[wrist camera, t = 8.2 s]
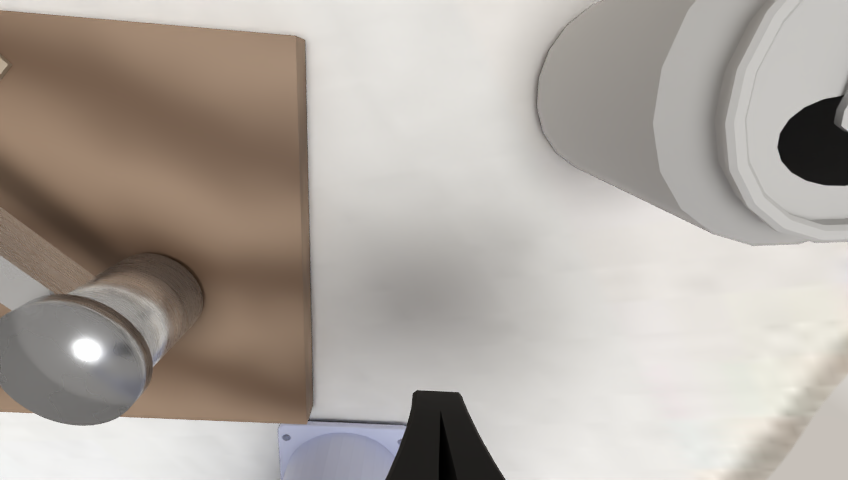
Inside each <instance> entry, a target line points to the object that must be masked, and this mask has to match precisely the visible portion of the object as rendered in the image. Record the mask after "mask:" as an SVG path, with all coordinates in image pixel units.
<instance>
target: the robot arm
mask: <svg viewBox="0 0 848 480" xmlns="http://www.w3.org/2000/svg"><path fill="white" fill-rule="evenodd" d="M285 434H287V435H289V436H287V435H285ZM400 439H402V440H400ZM278 442H279V458H280V475H281V480H505V478H504V477H503V475H502V473H501V472H500V470H499V469H498V467H497V465H496V464H495V462H494V460H493V459H492V457H491V455H490V453H489V452H488V450H487V448H486V446H485V444H484V443H483V441H482V439H481V437H480V435H479V433H478V431H477V429H476V427H475V425H474V423H473V421H472V419H471V417H470V415H469V413H468V410H467V408H466V406H465V403H464V401H463V398H462V396H461V395H460V394H459V392H440V391H420V390H417V391H415V392H414V393H413V398H412V407H411V412H410V416H409V419H408V423H407V426H404V425H385V424H361V423H337V422H313V421H308V423H307V424H284V423H280V425H279V427H278Z"/></svg>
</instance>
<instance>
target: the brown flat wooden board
mask: <svg viewBox="0 0 848 480" xmlns="http://www.w3.org/2000/svg"><path fill="white" fill-rule="evenodd" d="M0 207H1V208H3V209H4V210H5V211H7V212H8V213H9V214H11V215H12V216H13V217H15V218H16V219H17V220H19V221H20V222H22V223H23V224H24V225H26V226H27V227H28V228H30V229H31V230H32V231H34V232H35V233H37V234H38V235H39V236H41V237H42V238H43V239H45V240H46V241H47V242H49V243H50V244H51V245H53V246H54V247H56V248H57V249H58V250H60V251H61V252H62V253H64V254H65V255H66V256H68V257H69V258H71V259H72V260H73V261H75V262H76V263H77V264H79V265H80V266H81V267H83V268H84V269H85V270H87V271H88V272H90V273H91V274H92V275H94V276H96V275H98V274H100V273H101V272H103V271H105V270H107V269H108V268H110V267H112V266H113V265H115V264H117V263H118V262H120V261H122V260H124V259H125V258H127V257H130V256H133V255H136V254H145V253H149V254H157V255H161V256H165V257H168V258H170V259H172V260H174V261H176V262H178V263H179V264H181V265H182V266H183V267H185V268H186V269H187V270H188V271H189V272H190V273H191V274H192V275H193V277H194V278H195V279H196V281H197V283H198V284H199V286H200V289H201V292H202V296H203V307H202V312H201V314H200V316H199V318H198V320H197V321H196V322H195V323H194V324H193V325H192V326H191V327H190V328H189V329H188V331H187V332H186V333H185V334H184V335H183V336H182V337H181V338H180V339H179V340H178V341H177V342H176V343H175V344H174V345H173V346H172V348H171V349H170V350H169V351H168V352H167V353H166V354H165V355H164V356H163V357H162V358H161V359H160V360H159V361H158V362H157V364H156V365H155V366H154V367H153V373H152V378H151V381H150V383H149V385H148V387H147V389H146V390H145V391H144V392H143V394H142V395H141V396H140V397H139V398H138V399H137V400H136V401H135V403H134V404H133V405H132V406H131V407H130V408H129V409H128V410H127V411H126V412H125V413H124V414H122V415H121V416H119V417H140V418H164V419H188V420H212V421H236V422H260V423H284V424H307V423H308V419H309V416H310V413H311V410H312V407H313V382H312V337H311V291H310V246H309V201H308V155H307V110H306V65H305V40H304V39H301V38H299V37H297V36H291V35H279V34H268V33H256V32H245V31H233V30H221V29H210V28H198V27H187V26H175V25H163V24H152V23H140V22H129V21H117V20H105V19H94V18H82V17H71V16H59V15H48V14H36V13H24V12H13V11H1V10H0ZM10 311H12V310H10V309H9V308H7V307H6V306H4V305H3V304H1V303H0V318H1V317H2V316H4V315H5V314H7V313H9V312H10ZM0 412H19V413H33V412H31V411H29V410H28V409H26V408H24V407H23V406H22V405H20V404H19V403H17V402H16V401H15V400H14V399H12V398H11V397H10V396H9V395H8V394H7V393H6V392H5V391H4V390H3V389H2V388H1V386H0Z"/></svg>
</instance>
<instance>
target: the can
mask: <svg viewBox="0 0 848 480" xmlns="http://www.w3.org/2000/svg"><path fill="white" fill-rule="evenodd" d="M537 109H538V114H539V118H540V122H541V126H542V130H543V133H544V135H545V136H546V138H547V139H548V141H549V142H550V144H551V145H552V147H553V149H554V150H555V152H556V153H557V154H558V155H560V156H561V157H562V158H564V159H565V160H566V161H568V162H569V163H570V164H572V165H573V166H574V167H576V168H578V169H580V170H582V171H584V172H586V173H588V174H590V175H592V176H594V177H596V178H598V179H600V180H603V181H605V182H607V183H609V184H611V185H613V186H615V187H617V188H619V189H621V190H623V191H625V192H627V193H629V194H631V195H634V196H636V197H638V198H640V199H642V200H644V201H646V202H648V203H650V204H652V205H654V206H656V207H658V208H660V209H662V210H665V211H667V212H669V213H671V214H673V215H675V216H677V217H679V218H681V219H683V220H685V221H687V222H689V223H691V224H693V225H696V226H698V227H700V228H702V229H704V230H706V231H708V232H710V233H712V234H715V235H718V236H722V237H725V238H728V239H732V240H735V241H738V242H742V243H745V244H749V245H752V246H762V245H791V244H801V243H804V242H807V241H811V242H814V243H829V242H848V0H602V1H600V2H598V3H596V4H594V5H592V6H590V7H589V8H588V9H587V10H585V11H584V12H583V13H582V14H580V15H579V16H578V17H577V18H575V19H574V20H573V21H571V22H570V23H569V24H568V25H567V26H566V27H565V29H564V30H563V31H562V33H561V34H560V36H559V37H558V38H557V40H556V41H555V43H554V44H553V45H552V47H551V48H550V50H549V52H548V55H547V57H546V60H545V63H544V66H543V68H542V71H541V74H540V77H539V82H538V98H537Z"/></svg>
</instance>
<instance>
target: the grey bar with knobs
mask: <svg viewBox="0 0 848 480" xmlns="http://www.w3.org/2000/svg"><path fill="white" fill-rule="evenodd" d="M0 303H1V304H3V305H4V306H6V307H7V308H9V309H10V310H12V311H10V312H9V313H7V314H5V315H4V316H2V317H1V318H0V386H1V388H2V389H3V390H4V391H5V392H6V393H7V394H8V395H9V396H10V397H11V398H12V399H14V400H15V401H16V402H17V403H19V404H20V405H22V406H23V407H24V408H26V409H28V410H29V411H31V412H33V413H35V414H37V415H39V416H42V417H44V418H47V419H49V420H52V421H56V422H60V423H64V424H70V425H82V426H83V425H96V424H102V423H105V422H109V421H111V420H114V419H116V418H118V417H119V416H121V415H122V414H124V413H125V412H126V411H127V410H128V409H129V408H130V407H131V406H132V405H133V404H134V403H135V401H136V400H137V399H138V398H139V397H140V396H141V395H142V394H143V392H144V391H145V390H146V389H147V387H148V385H149V383H150V381H151V378H152V373H153V367H154V366H155V365H156V364H157V362H158V361H159V360H160V359H161V358H162V357H163V356H164V355H165V354H166V353H167V352H168V351H169V350H170V349H171V348H172V346H173V345H174V344H175V343H176V342H177V341H178V340H179V339H180V338H181V337H182V336H183V335H184V334H185V333H186V332H187V331H188V329H189V328H190V327H191V326H192V325H193V324H194V323H195V322H196V321H197V320H198V318H199V316H200V314H201V312H202V307H203V296H202V292H201V289H200V286H199V284H198V283H197V281H196V279H195V278H194V277H193V275H192V274H191V273H190V272H189V271H188V270H187V269H186V268H185V267H183V266H182V265H181V264H179V263H178V262H176V261H174V260H172V259H170V258H168V257H165V256H161V255H157V254H149V253H145V254H136V255H133V256H130V257H127V258H125V259H124V260H122V261H120V262H118V263H117V264H115V265H113V266H112V267H110V268H108V269H107V270H105V271H103V272H101V273H100V274H98V275H96V276H94V275H92V274H91V273H90V272H88V271H87V270H85V269H84V268H83V267H81V266H80V265H79V264H77V263H76V262H75V261H73V260H72V259H71V258H69V257H68V256H66V255H65V254H64V253H62V252H61V251H60V250H58V249H57V248H56V247H54V246H53V245H51V244H50V243H49V242H47V241H46V240H45V239H43V238H42V237H41V236H39V235H38V234H37V233H35V232H34V231H32V230H31V229H30V228H28V227H27V226H26V225H24V224H23V223H22V222H20V221H19V220H17V219H16V218H15V217H13V216H12V215H11V214H9V213H8V212H7V211H5V210H4V209H3V208H1V207H0Z"/></svg>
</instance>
